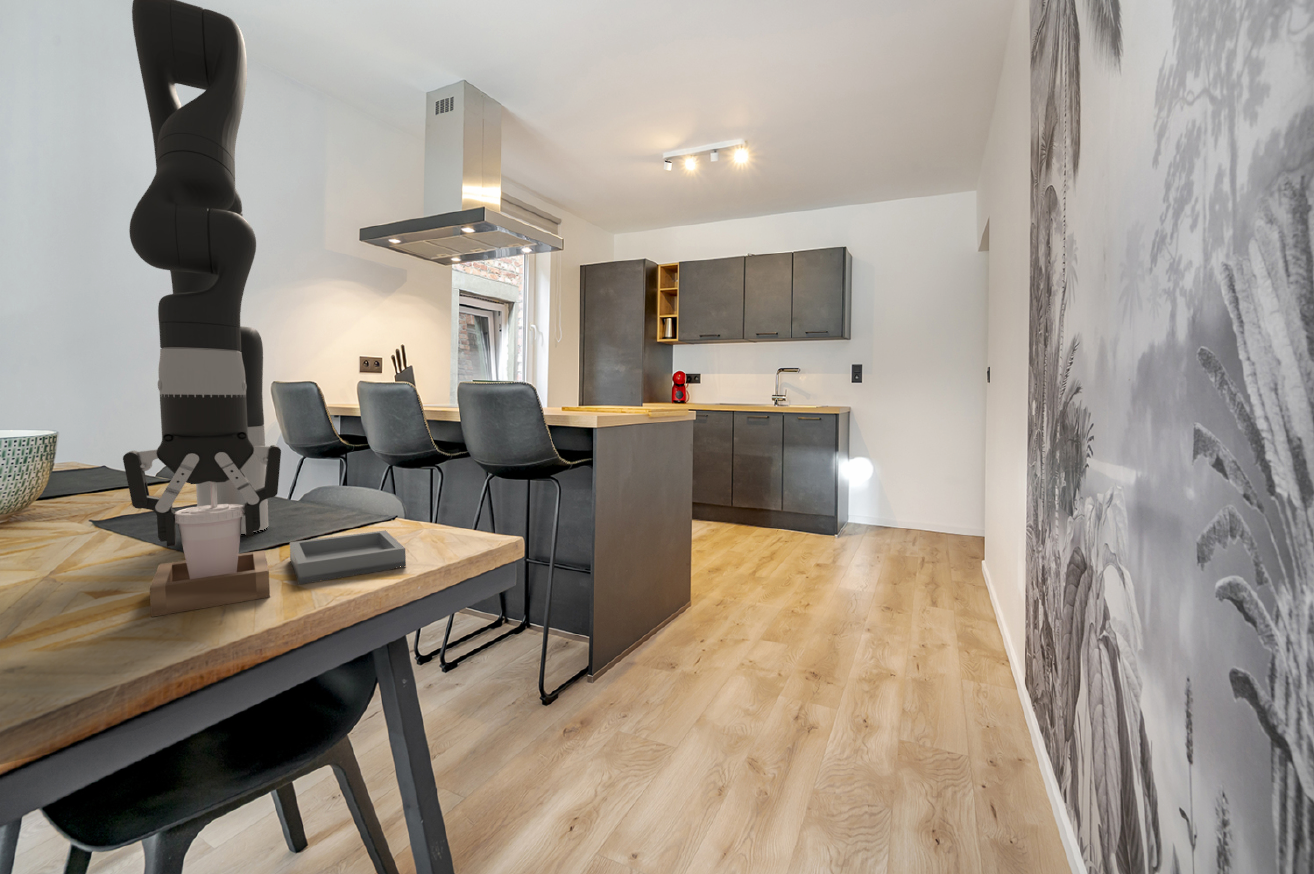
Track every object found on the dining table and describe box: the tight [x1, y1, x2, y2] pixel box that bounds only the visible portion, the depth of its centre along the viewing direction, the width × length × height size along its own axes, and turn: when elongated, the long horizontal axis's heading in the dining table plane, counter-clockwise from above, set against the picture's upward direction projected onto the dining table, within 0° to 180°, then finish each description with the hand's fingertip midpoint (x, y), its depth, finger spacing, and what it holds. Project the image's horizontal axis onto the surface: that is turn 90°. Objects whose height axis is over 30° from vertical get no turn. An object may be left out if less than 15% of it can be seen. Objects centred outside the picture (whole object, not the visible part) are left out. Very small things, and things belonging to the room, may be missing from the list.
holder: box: [149, 550, 271, 618], centre depth 65 cm, size 10×10×3 cm
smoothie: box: [174, 482, 245, 579], centre depth 64 cm, size 6×6×14 cm
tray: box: [289, 530, 407, 585], centre depth 76 cm, size 12×12×2 cm
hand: (211, 539), depth 64 cm, fingers closed on smoothie, 6 cm apart
